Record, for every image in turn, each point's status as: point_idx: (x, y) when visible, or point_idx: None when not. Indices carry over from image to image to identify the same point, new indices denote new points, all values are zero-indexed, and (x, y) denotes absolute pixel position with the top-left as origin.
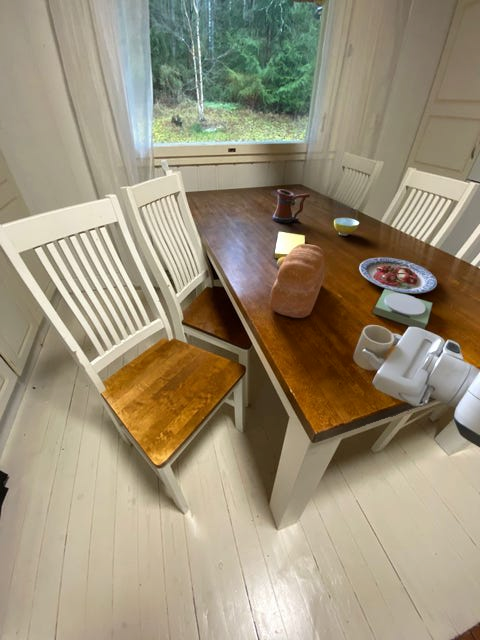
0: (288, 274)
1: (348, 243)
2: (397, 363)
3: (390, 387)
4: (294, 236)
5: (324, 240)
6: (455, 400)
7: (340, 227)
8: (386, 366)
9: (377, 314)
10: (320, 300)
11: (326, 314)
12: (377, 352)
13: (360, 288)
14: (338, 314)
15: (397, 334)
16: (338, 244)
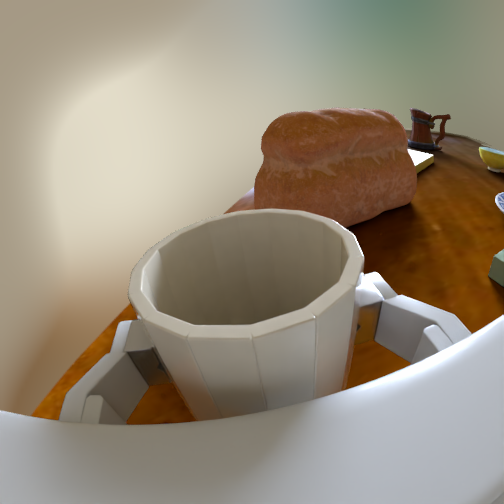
0: (268, 128)
1: (496, 178)
2: (60, 493)
3: None
4: (417, 153)
5: (463, 168)
6: None
7: (486, 155)
8: (8, 430)
9: (496, 280)
10: (385, 224)
11: (370, 250)
12: (168, 372)
13: (487, 227)
14: (401, 257)
15: (452, 318)
16: (481, 175)
